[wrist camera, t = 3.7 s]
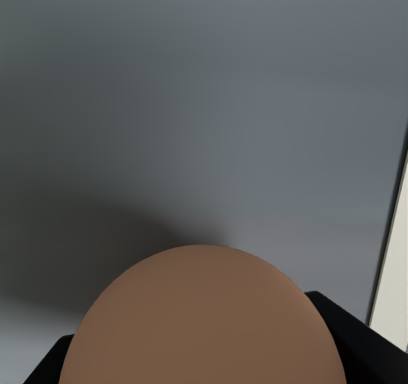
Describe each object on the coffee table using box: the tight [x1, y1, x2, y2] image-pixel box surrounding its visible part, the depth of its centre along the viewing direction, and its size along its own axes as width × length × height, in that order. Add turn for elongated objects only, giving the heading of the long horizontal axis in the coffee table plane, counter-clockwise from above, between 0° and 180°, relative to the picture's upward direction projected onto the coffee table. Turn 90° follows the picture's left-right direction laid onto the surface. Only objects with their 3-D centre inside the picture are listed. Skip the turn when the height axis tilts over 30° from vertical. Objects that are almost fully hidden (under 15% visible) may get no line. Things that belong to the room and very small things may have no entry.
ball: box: [59, 244, 347, 384], centre depth 7 cm, size 6×6×6 cm
